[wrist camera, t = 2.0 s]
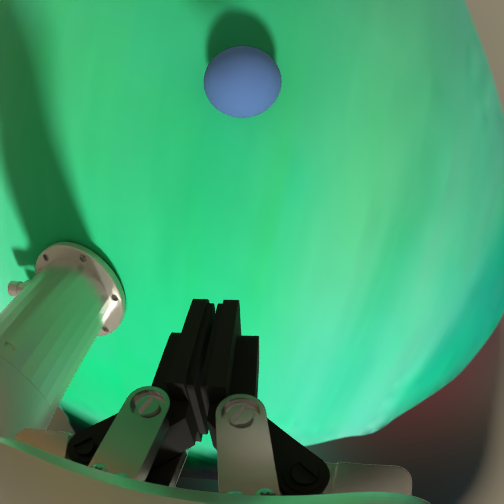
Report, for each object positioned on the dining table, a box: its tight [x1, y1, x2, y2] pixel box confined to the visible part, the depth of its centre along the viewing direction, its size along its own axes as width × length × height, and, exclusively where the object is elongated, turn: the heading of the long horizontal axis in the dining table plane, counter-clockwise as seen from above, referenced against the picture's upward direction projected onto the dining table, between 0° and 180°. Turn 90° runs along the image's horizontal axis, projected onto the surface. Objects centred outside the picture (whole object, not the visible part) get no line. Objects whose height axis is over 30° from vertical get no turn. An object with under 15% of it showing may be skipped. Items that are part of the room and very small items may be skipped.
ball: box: [204, 46, 281, 118], centre depth 20 cm, size 6×6×6 cm
